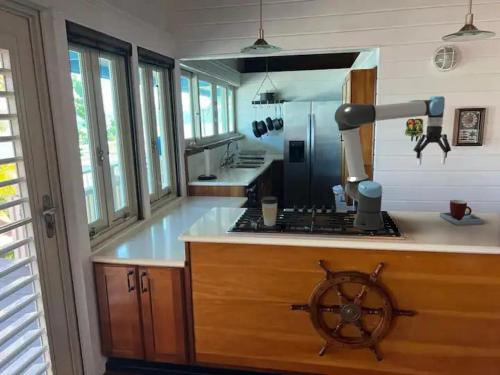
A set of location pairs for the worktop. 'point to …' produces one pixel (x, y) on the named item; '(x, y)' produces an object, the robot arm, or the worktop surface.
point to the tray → (464, 221)
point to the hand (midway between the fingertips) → (430, 164)
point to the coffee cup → (269, 210)
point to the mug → (458, 209)
